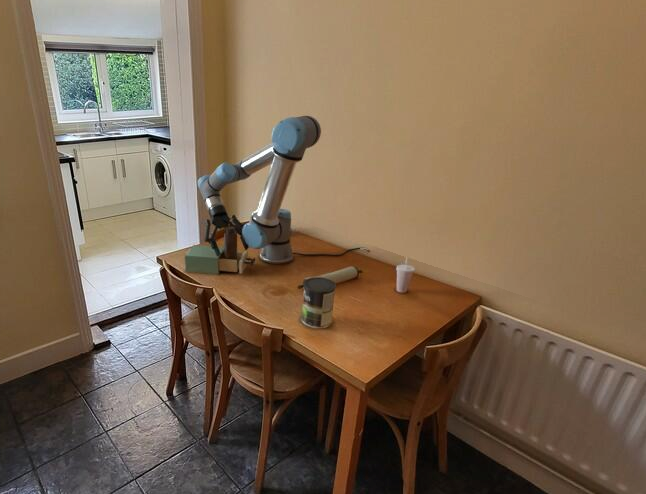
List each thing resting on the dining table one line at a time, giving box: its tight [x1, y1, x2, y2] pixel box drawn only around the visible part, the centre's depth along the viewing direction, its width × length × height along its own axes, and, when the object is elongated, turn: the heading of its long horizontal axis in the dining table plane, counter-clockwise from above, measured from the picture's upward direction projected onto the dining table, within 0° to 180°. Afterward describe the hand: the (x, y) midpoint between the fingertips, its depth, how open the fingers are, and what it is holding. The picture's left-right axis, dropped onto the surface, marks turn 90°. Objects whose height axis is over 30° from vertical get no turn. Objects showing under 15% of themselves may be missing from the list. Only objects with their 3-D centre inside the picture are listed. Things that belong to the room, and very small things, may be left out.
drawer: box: [218, 250, 256, 275], centre depth 177 cm, size 18×11×6 cm, turn 77°
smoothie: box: [395, 256, 415, 294], centre depth 156 cm, size 6×6×14 cm
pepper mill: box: [223, 226, 238, 260], centre depth 174 cm, size 5×5×17 cm
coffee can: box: [301, 276, 337, 330], centre depth 137 cm, size 10×10×14 cm
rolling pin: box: [297, 266, 363, 289], centre depth 163 cm, size 32×6×5 cm, turn 117°
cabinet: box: [184, 244, 225, 275], centre depth 179 cm, size 15×13×8 cm
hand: (233, 252), depth 173 cm, fingers open, 13 cm apart
